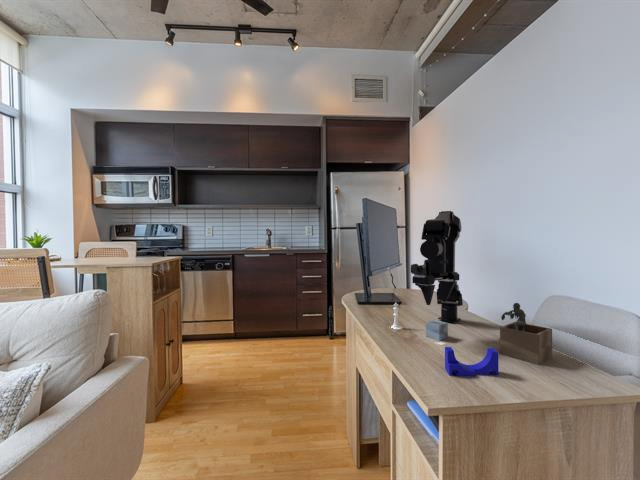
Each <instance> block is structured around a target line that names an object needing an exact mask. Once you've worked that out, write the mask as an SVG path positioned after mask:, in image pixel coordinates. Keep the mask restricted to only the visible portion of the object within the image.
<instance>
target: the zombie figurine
mask: <svg viewBox="0 0 640 480" xmlns="http://www.w3.org/2000/svg"><path fill="white" fill-rule="evenodd" d="M506 316H508V317H510V318H509V319H511V320H513V319H514V318H515V319H517V320H516V321H515V322H516V323H515V330H518V329H519V326H521V328H522V331H524V332H525V326H526V325H527V324H528V323H527V322H526V317H527V315H526V313H525V311H524V310H523V309H521V305H520V303H518V302H515V303H513V305H512V310H509V311H505V312H504V313H502V314H501V316H500V317H501V321H504V320H505V319H506Z"/></svg>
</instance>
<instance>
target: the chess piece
mask: <svg viewBox="0 0 640 480" xmlns="http://www.w3.org/2000/svg"><path fill="white" fill-rule="evenodd" d="M393 306H394V307H393V312H394V313H393V314H392V315H393V316H394V320H393V324H392V325H391V328H393V329H392V330H402V329H403V326H400V324H399V320H398V316H400V314H399V313H398V311H399V308H400V307H398V306H399V304H398V302H394V304H393ZM391 328H390V329H391Z"/></svg>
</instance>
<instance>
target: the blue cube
mask: <svg viewBox="0 0 640 480" xmlns="http://www.w3.org/2000/svg"><path fill="white" fill-rule="evenodd" d="M425 337H426V338H428V339H431V340H435V341H437V342H441V341H442V340H446V339H448V338H449V322H444V321H442V320H435V319H434V320H430V321H426V322H425Z"/></svg>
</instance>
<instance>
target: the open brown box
mask: <svg viewBox="0 0 640 480" xmlns="http://www.w3.org/2000/svg"><path fill="white" fill-rule="evenodd" d="M515 323H516V321H514V322H511V323H509V324H505V325H502V326H500V327H499V354H500V355H501V356H506V357H508V358H512V359H515V360H519V361H523V362H526V363H529V364H532V365H533V364H534V365H537V366H538V365H541V364H542V363H544V362H545V361H547V360H549V359H551V358H553V328H550V327H544V326H539V325H534V324H528V323H526V324H527V325H526V326H525V332H524V331H522V328H521V326H519V329H518V330H515Z"/></svg>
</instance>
